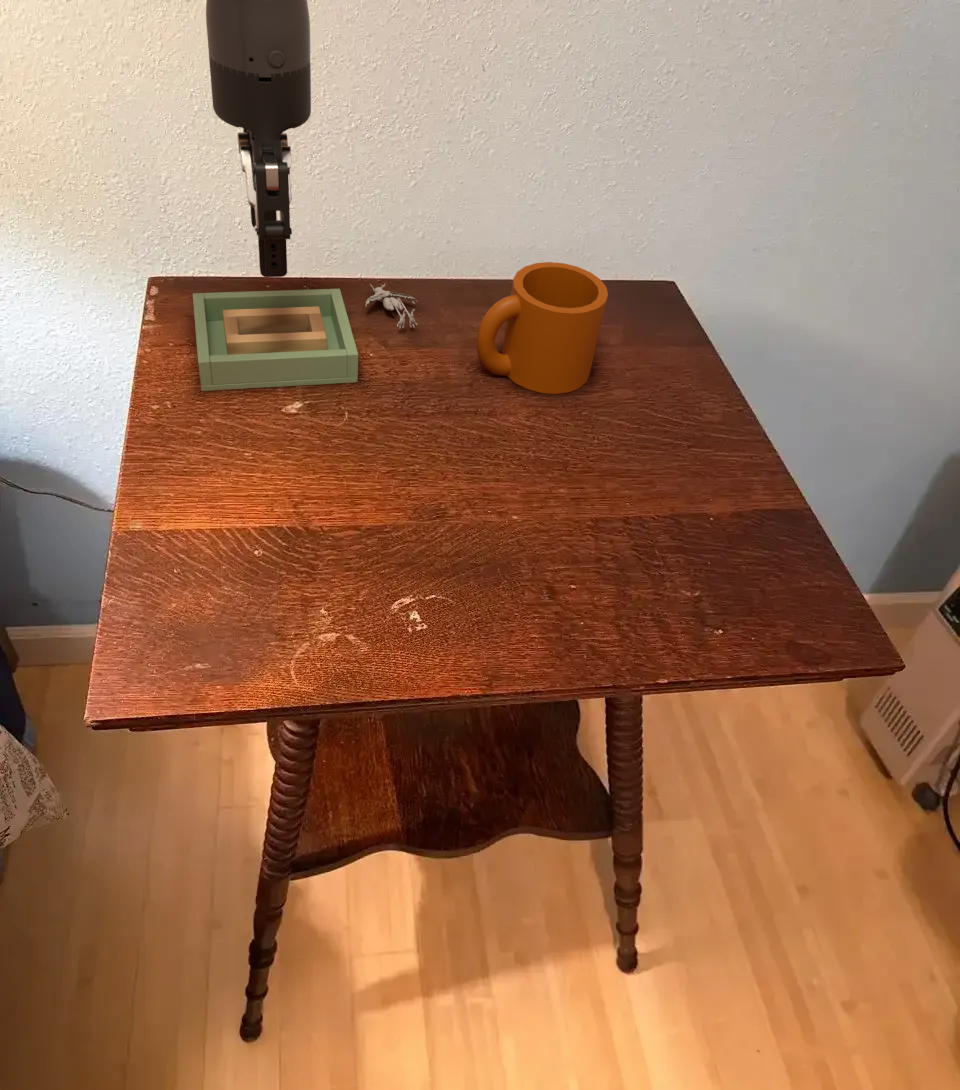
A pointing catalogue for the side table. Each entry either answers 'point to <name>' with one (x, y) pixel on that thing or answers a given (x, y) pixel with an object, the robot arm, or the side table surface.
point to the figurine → (393, 303)
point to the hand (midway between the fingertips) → (268, 250)
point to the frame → (274, 330)
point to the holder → (277, 366)
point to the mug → (545, 328)
